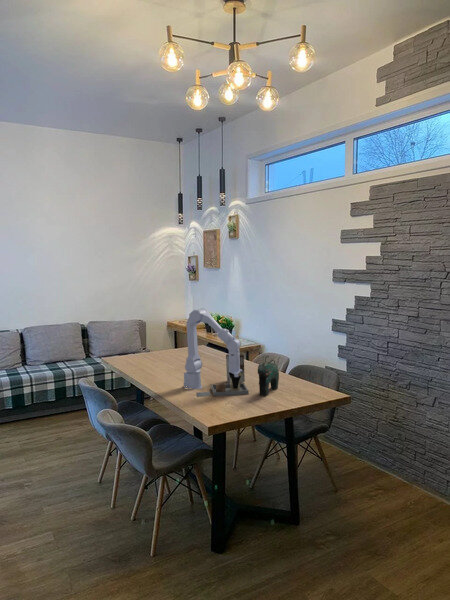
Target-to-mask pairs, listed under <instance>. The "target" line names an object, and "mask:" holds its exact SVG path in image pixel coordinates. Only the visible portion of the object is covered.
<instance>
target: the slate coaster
mask: <svg viewBox="0 0 450 600" xmlns="http://www.w3.org/2000/svg"><path fill="white" fill-rule="evenodd" d="M211 395H212V394H211V391H202V392H201V391H200V392H196V396H197V397H196V398H199V397H200V398H201V397H211Z"/></svg>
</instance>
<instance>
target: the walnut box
mask: <svg viewBox="0 0 450 600" xmlns="http://www.w3.org/2000/svg"><path fill="white" fill-rule="evenodd" d="M225 384H226V383H225V382H216V383H215V385H216V392H225Z"/></svg>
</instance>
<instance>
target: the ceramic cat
mask: <svg viewBox="0 0 450 600" xmlns="http://www.w3.org/2000/svg"><path fill="white" fill-rule="evenodd" d="M267 358H268V359H269V358H270V356H269V355H266V356H265V361H264V362H260V363H259V364H258V366H257V374H258V388H259V396H260V397H268V396H269V390H270V389H272V390H275V391H276V390H278V389H279V381H280V372H279V369H278V365H277V363H276V361H275V360H274V359H271V360H269V361H268V362H267ZM272 361H273V362H272ZM269 388H270V389H269Z"/></svg>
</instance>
